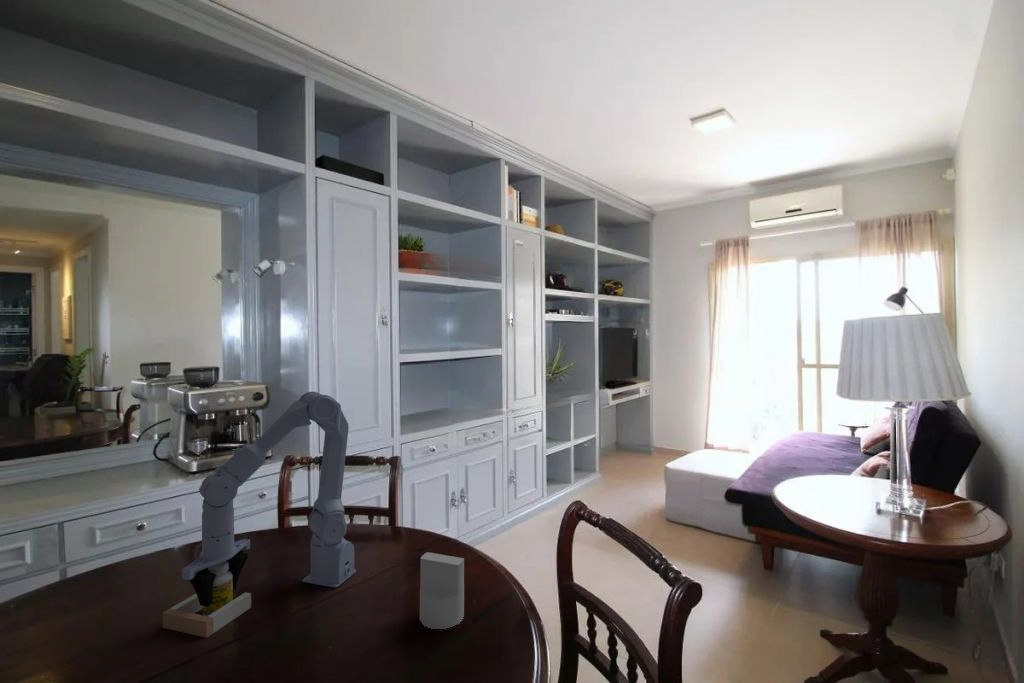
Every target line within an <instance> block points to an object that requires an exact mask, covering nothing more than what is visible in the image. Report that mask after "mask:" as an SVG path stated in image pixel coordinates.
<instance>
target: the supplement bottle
mask: <svg viewBox="0 0 1024 683" xmlns="http://www.w3.org/2000/svg"><path fill="white" fill-rule="evenodd" d="M228 569H229V563H228V562H227V561H224V562H221V563H218V564H216V565H214V566H212V567H210V568H208V571H210V573H215V574H216V577H215V579H214V583H213V588H212V601H211V605H210V606H208V607H205V606H203V608H202V614H203V615H204V616H209V615H210V614H212V613H213V612H215V611H217V610H218V609H220V608H221V607H223V606H225V605H226V604H228V603H229V602H231V601H232V600H234V598H233V597H234V591H233V576H232V573H231V572H230V571H228Z"/></svg>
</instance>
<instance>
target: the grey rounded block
mask: <svg viewBox="0 0 1024 683" xmlns="http://www.w3.org/2000/svg"><path fill="white" fill-rule="evenodd" d="M419 568H420V571H419V572H420V576H419V577H420V578H419V581H420V582H419V584H420V588H419V622H420V621H421V622H422V624H423V625H424V626H423V625H422V624H421V625H422V626H423V627H425V626H426V627H428V628H427V629H429V628H431V629H430V630H432V629H445V630H447V629H446V628H450V627H453V626H455V625H457V624H458V625H460V624H461V623H462V622H463V620H464V618H465V558H464V557H458V556H452V555H446V554H440V553H435V552H425V553H424V554H422V555H421V557H420V567H419ZM463 617H464V618H463ZM462 619H463V620H462ZM461 621H462V622H461ZM421 622H420V623H421ZM460 622H461V623H460ZM458 625H457V626H458ZM426 627H425V628H426ZM455 627H456V626H455ZM453 628H454V627H453ZM450 629H451V628H450Z"/></svg>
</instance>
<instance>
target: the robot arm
mask: <svg viewBox="0 0 1024 683" xmlns="http://www.w3.org/2000/svg"><path fill="white" fill-rule="evenodd" d="M341 405H342V404H340V402H338V401H337V400H336V399H335V398H334V397H332V396H330V395H328V394H322V393H319V392H317V391H308V392H306V393H304V394H302V396H300V398H299V399H297V400H295V401H294V402H293V403H291V405H290V406H289V407H288V408H287V409H286V411H284V412H283V414H281V415H280V417H278V419H277V420H275V422H273V424H272V425H271V426H270V427H269V428H268V429H267V430H266V431H265V432H264V433H263V434H262V435H261V436H260V437H259V438H258V439H257V440H256V441H255V442H253V443H249V444H244V445H243V446H242V447H241V448H240V447H236V448H235V449H234V450H233V451H232V452H233V453H234V454H233V455H232V456H231V457H229V459H228V460H227V461H226V462H224V463H223V464H222V465H221V466H217V467H216V468H215V469H214V473H211V474H209V475H208V476H206V477H205V478H204V479H203V480H202V482H201V485H200V487H199V488H198V491H199V493H200V496H202V497H203V498H204V499H202V506H201V507H202V511H201V552H199V556H198V557H197V558H196V559H195V560H193V561H192V562H191V563H189V564H188V565H187V566H185V567H183V568H182V569H181V579H183V580H186V581H188V582H189V583H190V584H191V586H192V588H193V589H194V591H195V594H197V596H198V600H199V603H200V606H205V607H208V606H210V605H211V601H212V588H213V583H214V579H215V577H216V574H215V573H210V571H208V568H210V567H212V566H214V565H216V564H218V563H221V562H224V561H227V562H228V563H229V569H228V571H230V572H231V573H232V576H233V592H234V591H236V590H237V586H238V582H239V578H240V575H241V573H242V570H243V567H244V565H245V564H246V562H247V560H248V559H249V557H248V556H249V555H248V553H246V552H244V551H248V550H249V549H251V540H250V539H247V538H242V539H239V540H237V541H235V507H234V500H235V498H236V497H237V494H238V489H239V487H241V486H242V485H244V484H245V482H247V481H248V480H249V478H251V477H252V476H253V475H254V474H255V473H256V472H257V471H258V470H259V469H260V468H261V467H262V466H263V465H264V464H265V463H266V457H267V453H268V452H270V451H271V450H272V449H273V448H274V447H275V446H276V445H278V443H280V442H281V441H283V439H284V438H286V436H288V435H289V434H290V433H291V432H292V431H293V430H294V429H295V428H299V427H304V426H310V425H312V422H314V423H315V424H316V425H317V426H318V427H320V428H321V430H323V431H324V440H323V447H322V449H323V450H322V457H321V468H320V476H319V485H318V493H317V494H318V496H317V499H316V500H315V501H313V507H312V508H313V509H312V510H311V512H310V514H309V516H308V518H307V525H308V528H309V530H310V531H311V532H312V535H311V538H310V573H309V574H308V575H307V576H305V577H303V579H302V581H301V582H302V583H306V584H312V585H318V586H324V587H330V588H338V587H339V586H340V585H343V583H344V582H346V581H347V580H348V579H349V578H351V576H353V575H354V574H355V573H357V570H356V569H355V546H354V544H353V542H351V541H349V540H346V539H345V538H344V537H345V535H346V533H347V529H348V525H347V522H346V519H345V507H344V505H343V502H342V494H343V493H342V492H343V482H344V476H345V475H344V474H345V463H346V455H347V446H348V439H349V438H348V437H349V436H348V435H349V428H350V427H349V423H348V421H347V419H346V416H345V415H344V412H343V410H342V406H341ZM311 421H312V422H311Z"/></svg>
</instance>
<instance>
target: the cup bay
mask: <svg viewBox="0 0 1024 683" xmlns="http://www.w3.org/2000/svg"><path fill="white" fill-rule="evenodd" d="M249 609H252V593H250V592H246V591H245V592H243V593H242V594H241V595H239V596H237V597H236V598H233V600H232V601H231V602H229V603H228V604H226V605H225V606H223V607H221V608H220V609H218V610H217V611H215V612H213V613H212V614H210V615H209V616H204V615H202V614H199V613H197V612H200V611H201V610H203V606H200V603H199V600H198V596H197V594H196V593H195V594H193V595H191V596H190V597H188V598H186V599H184V600H183V601H181V602H179V603H177V604H175V605H174V606H172V607H170V608H168V609H166V610H164V611H163V612H162V629H166V630H171V631H176V632H180V633H184V634H188V635H194V636H197V637H201V638H209V637H210V636H211V635H213V634H215V633H216V632H218V631H219V630H221V629H222V628H223V627H225V626H226V625H228V624H229V623H230V622H232V621H233V620H235V619H237V618H238V617H240V616H241V615H242V614H244V613H245V612H247V611H249Z"/></svg>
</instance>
